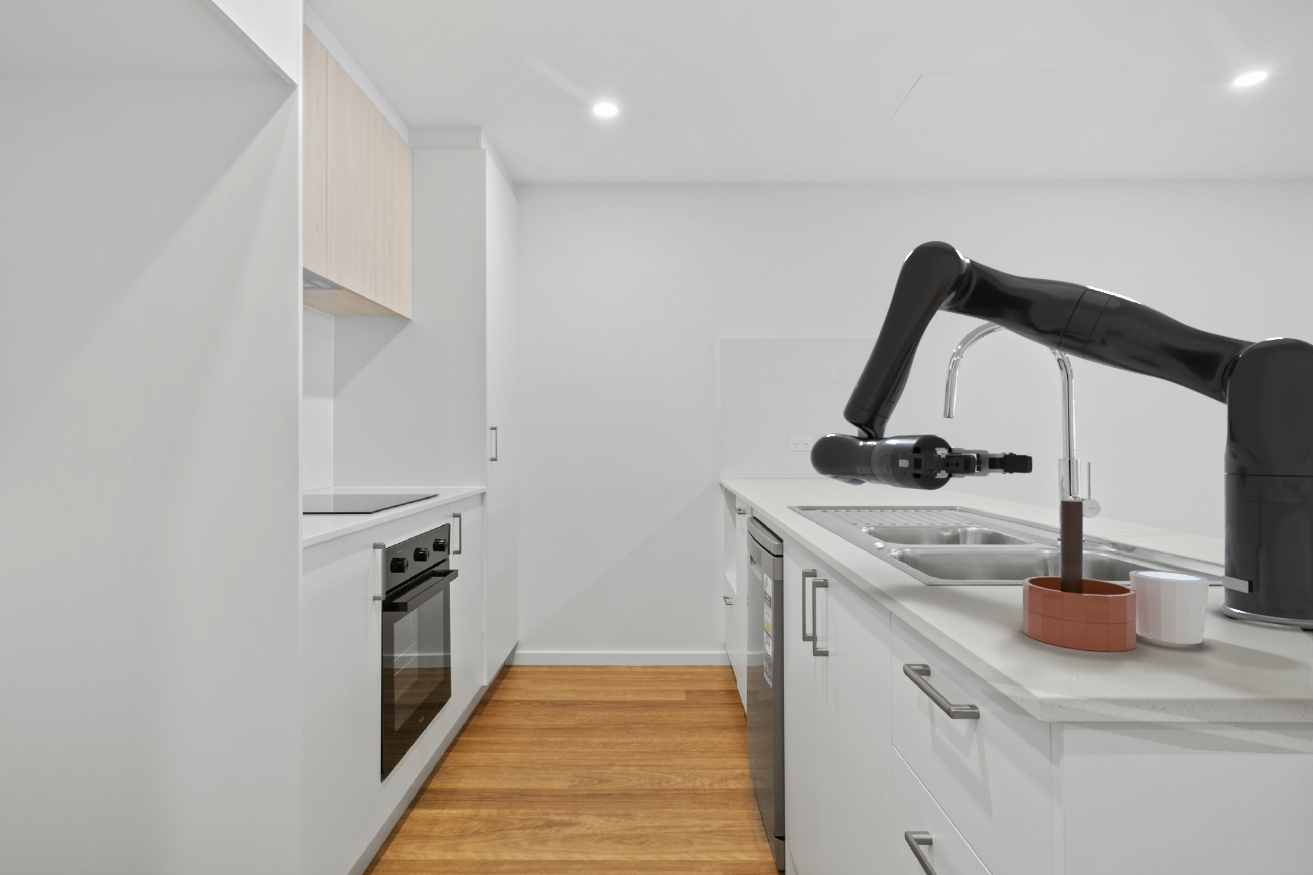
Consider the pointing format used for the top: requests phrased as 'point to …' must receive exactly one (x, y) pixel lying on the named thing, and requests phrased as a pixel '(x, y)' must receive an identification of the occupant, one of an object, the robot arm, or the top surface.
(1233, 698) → the top surface
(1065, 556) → the brown wooden pestle
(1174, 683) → the top surface
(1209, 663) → the top surface
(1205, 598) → the white cylinder
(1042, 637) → the bowl
